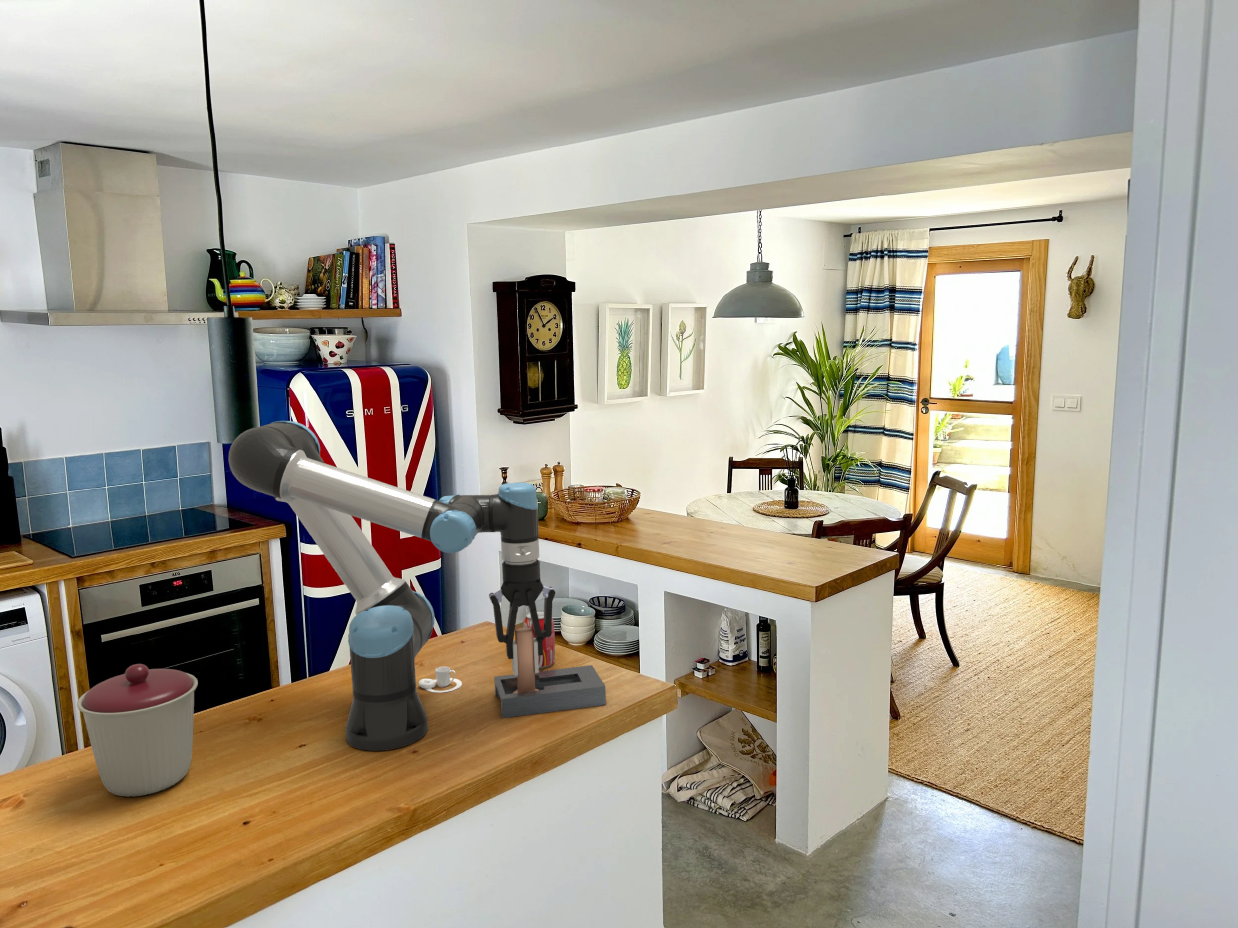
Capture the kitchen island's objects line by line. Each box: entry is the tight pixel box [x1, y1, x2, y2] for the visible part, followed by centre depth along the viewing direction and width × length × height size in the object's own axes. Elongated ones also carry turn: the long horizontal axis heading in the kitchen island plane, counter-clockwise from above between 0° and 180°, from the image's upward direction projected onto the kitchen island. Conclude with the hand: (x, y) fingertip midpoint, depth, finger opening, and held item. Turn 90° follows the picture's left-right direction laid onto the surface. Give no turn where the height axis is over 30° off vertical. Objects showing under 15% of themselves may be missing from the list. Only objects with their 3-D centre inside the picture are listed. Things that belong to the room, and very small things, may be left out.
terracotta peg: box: [512, 627, 538, 694], centre depth 182 cm, size 6×6×15 cm
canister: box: [76, 663, 199, 798], centre depth 153 cm, size 18×18×21 cm
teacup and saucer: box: [418, 665, 463, 694], centre depth 193 cm, size 9×8×4 cm
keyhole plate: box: [493, 664, 607, 719], centre depth 184 cm, size 21×12×4 cm, turn 105°
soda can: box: [522, 609, 556, 670], centre depth 203 cm, size 7×7×12 cm
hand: (525, 671), depth 182 cm, fingers closed on terracotta peg, 3 cm apart
